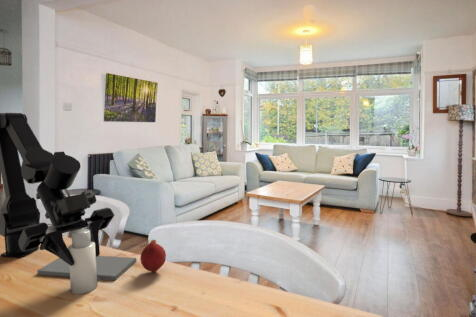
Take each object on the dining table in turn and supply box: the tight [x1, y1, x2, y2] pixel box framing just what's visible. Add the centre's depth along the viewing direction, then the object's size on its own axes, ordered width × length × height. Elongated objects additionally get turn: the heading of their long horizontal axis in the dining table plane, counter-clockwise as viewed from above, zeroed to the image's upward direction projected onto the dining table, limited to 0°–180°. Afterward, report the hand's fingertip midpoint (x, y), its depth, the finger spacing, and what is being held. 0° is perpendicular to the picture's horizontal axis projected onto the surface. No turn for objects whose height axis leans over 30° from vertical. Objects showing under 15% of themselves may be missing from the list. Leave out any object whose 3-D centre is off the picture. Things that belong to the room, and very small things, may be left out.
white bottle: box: [67, 228, 98, 295], centre depth 69 cm, size 5×5×12 cm
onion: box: [139, 238, 167, 273], centre depth 76 cm, size 6×6×8 cm
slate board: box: [36, 255, 137, 281], centre depth 79 cm, size 20×10×1 cm, turn 81°
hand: (85, 260), depth 68 cm, fingers closed on white bottle, 5 cm apart
